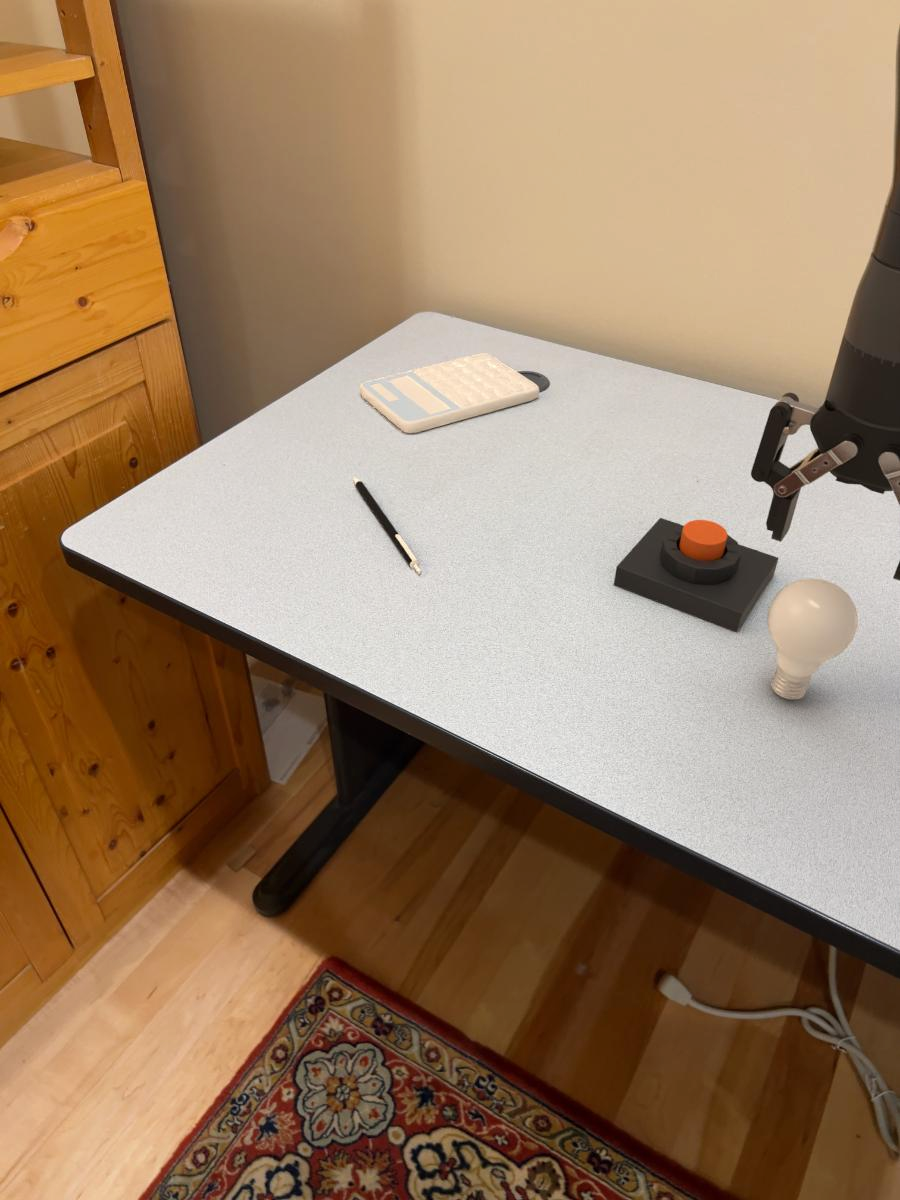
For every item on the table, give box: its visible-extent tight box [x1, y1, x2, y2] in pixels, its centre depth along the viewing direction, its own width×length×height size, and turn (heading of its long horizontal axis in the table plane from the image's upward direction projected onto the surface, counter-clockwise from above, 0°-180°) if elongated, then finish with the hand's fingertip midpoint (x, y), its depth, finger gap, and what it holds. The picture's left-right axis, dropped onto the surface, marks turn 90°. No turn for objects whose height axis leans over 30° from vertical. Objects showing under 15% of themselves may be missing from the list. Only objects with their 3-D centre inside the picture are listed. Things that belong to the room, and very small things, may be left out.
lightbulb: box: [766, 578, 859, 700], centre depth 68 cm, size 6×6×11 cm
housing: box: [613, 517, 779, 633], centre depth 82 cm, size 12×10×4 cm
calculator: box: [359, 352, 540, 434], centre depth 113 cm, size 13×20×2 cm, turn 121°
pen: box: [352, 476, 423, 575], centre depth 90 cm, size 1×19×1 cm, turn 24°
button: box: [679, 519, 729, 561], centre depth 81 cm, size 4×4×2 cm
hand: (838, 554), depth 63 cm, fingers open, 8 cm apart
